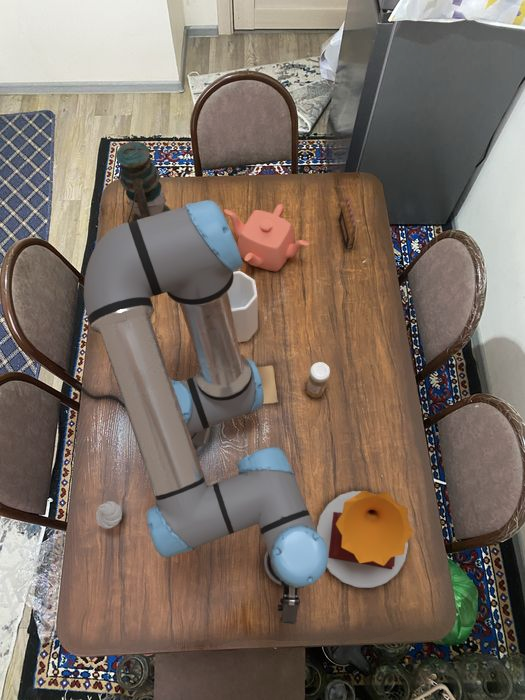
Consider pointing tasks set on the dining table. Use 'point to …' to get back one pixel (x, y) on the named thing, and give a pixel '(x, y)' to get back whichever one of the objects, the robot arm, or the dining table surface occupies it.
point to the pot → (266, 238)
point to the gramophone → (364, 537)
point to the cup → (244, 305)
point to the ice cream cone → (108, 514)
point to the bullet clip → (348, 223)
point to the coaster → (268, 384)
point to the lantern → (140, 181)
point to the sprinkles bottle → (317, 379)
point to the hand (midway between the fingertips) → (288, 562)
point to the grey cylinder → (270, 569)
